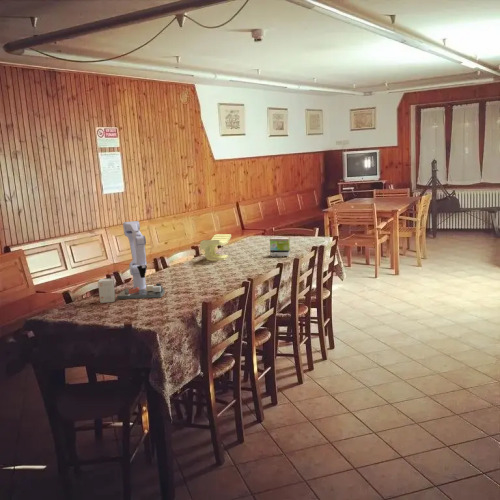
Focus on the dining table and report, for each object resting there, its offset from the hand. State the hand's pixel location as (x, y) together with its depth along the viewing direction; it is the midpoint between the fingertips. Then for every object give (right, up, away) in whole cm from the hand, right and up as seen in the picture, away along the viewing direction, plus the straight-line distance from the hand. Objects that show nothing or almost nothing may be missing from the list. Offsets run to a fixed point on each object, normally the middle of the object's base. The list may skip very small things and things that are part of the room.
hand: (142, 277), depth 327 cm
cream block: (+5, -8, -1) cm, 9 cm away
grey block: (+10, -8, -6) cm, 14 cm away
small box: (-18, -13, -14) cm, 26 cm away
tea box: (+90, +12, +105) cm, 139 cm away
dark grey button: (+10, -6, -1) cm, 12 cm away
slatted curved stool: (+39, +9, +104) cm, 111 cm away
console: (0, -11, -4) cm, 11 cm away
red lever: (-5, -9, -7) cm, 12 cm away
